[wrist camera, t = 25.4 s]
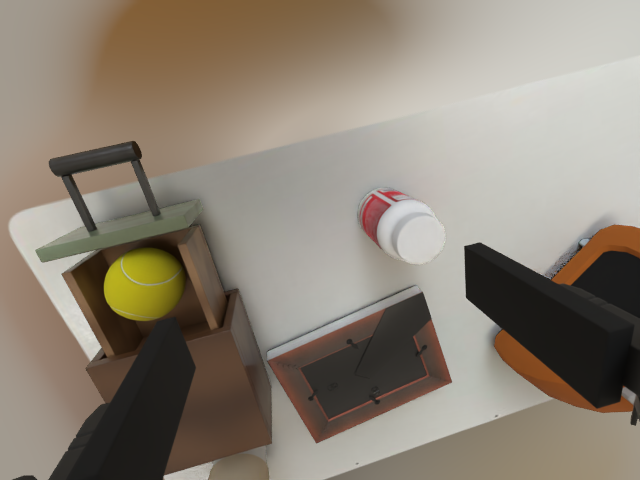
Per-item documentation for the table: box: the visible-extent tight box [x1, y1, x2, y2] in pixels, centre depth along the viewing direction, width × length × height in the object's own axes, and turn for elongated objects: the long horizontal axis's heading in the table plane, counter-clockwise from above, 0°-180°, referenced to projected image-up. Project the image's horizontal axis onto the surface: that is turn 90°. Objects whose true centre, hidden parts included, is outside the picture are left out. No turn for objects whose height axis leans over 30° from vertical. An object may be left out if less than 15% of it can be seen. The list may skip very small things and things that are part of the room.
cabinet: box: [86, 289, 272, 475], centre depth 37 cm, size 16×14×9 cm
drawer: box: [35, 141, 228, 358], centre depth 32 cm, size 21×13×7 cm, turn 12°
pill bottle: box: [358, 188, 446, 265], centre depth 34 cm, size 6×6×11 cm
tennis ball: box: [104, 248, 186, 321], centre depth 32 cm, size 7×7×7 cm
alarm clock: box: [494, 225, 640, 413], centre depth 39 cm, size 23×9×17 cm, turn 141°
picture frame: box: [267, 286, 452, 443], centre depth 45 cm, size 16×2×22 cm
